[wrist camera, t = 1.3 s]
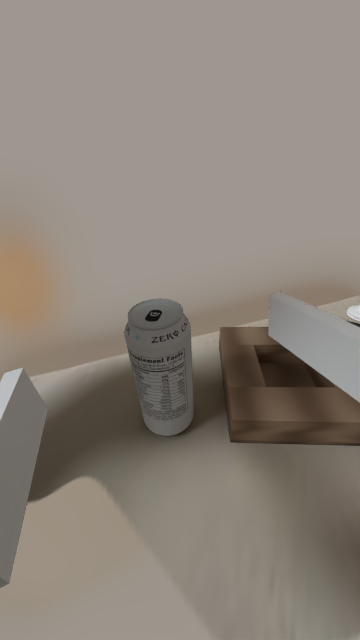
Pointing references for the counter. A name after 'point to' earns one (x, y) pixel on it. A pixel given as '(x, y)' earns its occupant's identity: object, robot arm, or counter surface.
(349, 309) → the chess piece
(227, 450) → the counter surface
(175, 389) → the energy drink can
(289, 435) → the holder block
